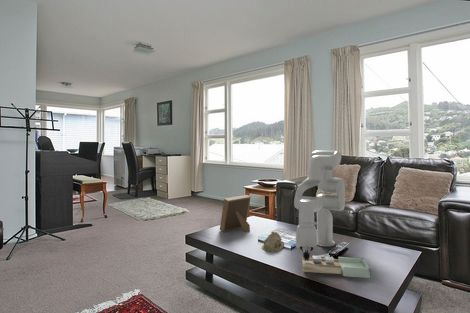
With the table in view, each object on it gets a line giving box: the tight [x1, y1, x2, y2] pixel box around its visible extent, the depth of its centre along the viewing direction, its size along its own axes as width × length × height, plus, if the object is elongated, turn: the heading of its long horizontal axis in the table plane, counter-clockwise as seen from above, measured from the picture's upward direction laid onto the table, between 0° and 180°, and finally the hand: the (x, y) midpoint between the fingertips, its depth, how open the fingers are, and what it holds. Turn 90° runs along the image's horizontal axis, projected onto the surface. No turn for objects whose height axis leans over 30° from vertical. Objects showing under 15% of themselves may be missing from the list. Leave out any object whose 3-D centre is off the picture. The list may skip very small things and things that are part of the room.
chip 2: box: [325, 256, 335, 265], centre depth 139 cm, size 4×4×3 cm
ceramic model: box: [261, 231, 285, 252], centre depth 170 cm, size 14×11×10 cm
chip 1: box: [312, 255, 322, 264], centre depth 140 cm, size 4×4×3 cm
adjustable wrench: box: [317, 252, 330, 259], centre depth 158 cm, size 25×6×2 cm, turn 127°
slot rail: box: [301, 256, 342, 275], centre depth 140 cm, size 8×18×4 cm, turn 80°
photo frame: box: [219, 194, 252, 233], centre depth 204 cm, size 15×22×25 cm
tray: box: [338, 256, 371, 279], centre depth 138 cm, size 12×12×4 cm
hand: (306, 259), depth 141 cm, fingers closed
